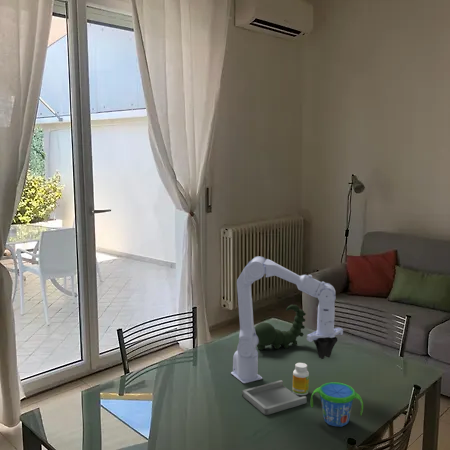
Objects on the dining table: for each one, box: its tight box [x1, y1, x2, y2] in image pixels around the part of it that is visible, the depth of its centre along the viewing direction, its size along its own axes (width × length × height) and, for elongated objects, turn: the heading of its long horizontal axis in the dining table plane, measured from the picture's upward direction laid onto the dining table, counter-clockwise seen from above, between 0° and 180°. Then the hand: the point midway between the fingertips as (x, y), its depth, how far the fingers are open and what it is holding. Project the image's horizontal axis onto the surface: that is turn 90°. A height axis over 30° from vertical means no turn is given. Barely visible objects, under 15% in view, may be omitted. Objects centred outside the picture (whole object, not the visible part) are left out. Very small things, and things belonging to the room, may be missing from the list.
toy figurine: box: [254, 304, 307, 351], centre depth 209 cm, size 9×19×25 cm
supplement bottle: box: [292, 362, 310, 396], centre depth 171 cm, size 5×5×10 cm
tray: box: [241, 379, 308, 416], centre depth 166 cm, size 14×16×2 cm
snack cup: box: [309, 381, 364, 428], centre depth 153 cm, size 16×10×10 cm
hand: (324, 357), depth 175 cm, fingers open, 2 cm apart
